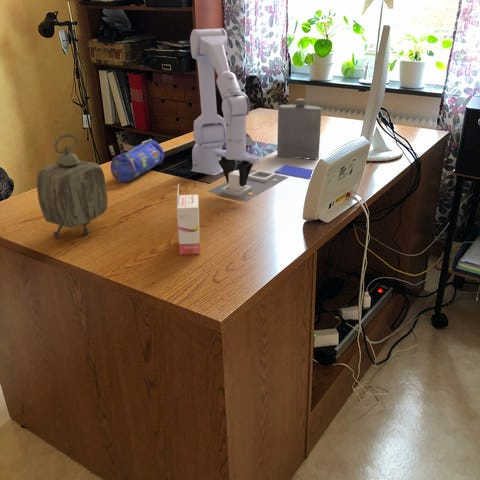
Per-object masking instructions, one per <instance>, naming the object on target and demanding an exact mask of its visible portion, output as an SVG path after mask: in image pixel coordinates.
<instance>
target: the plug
mask: <svg viewBox="0 0 480 480" xmlns="http://www.w3.org/2000/svg"><path fill="white" fill-rule="evenodd" d="M228 175H229V190H233V191H237V192H240V191H241V190H243V189H245V188H246V185H245V186H243V187H242V186H240V174H239V170H235V169H234V170H233V172H231V173H229V174H228Z"/></svg>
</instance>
